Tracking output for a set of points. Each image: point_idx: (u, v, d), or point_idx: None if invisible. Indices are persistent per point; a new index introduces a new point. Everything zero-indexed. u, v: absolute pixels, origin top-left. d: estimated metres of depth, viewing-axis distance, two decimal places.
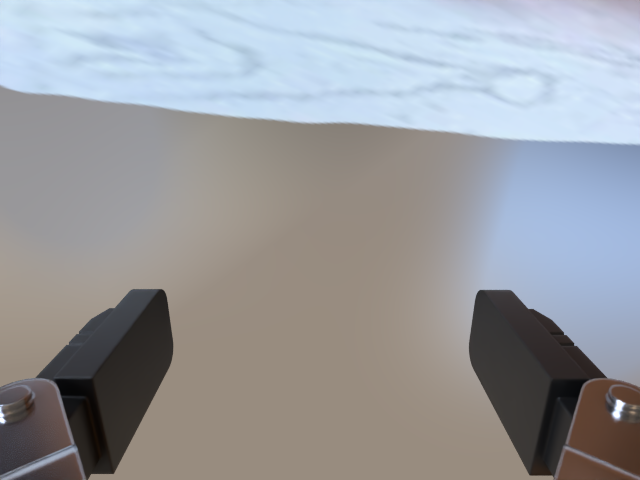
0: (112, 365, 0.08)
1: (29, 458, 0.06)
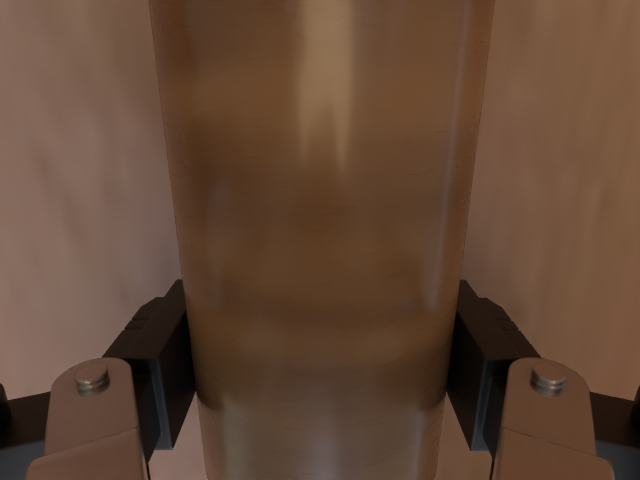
0: (171, 348, 0.09)
1: (98, 433, 0.06)
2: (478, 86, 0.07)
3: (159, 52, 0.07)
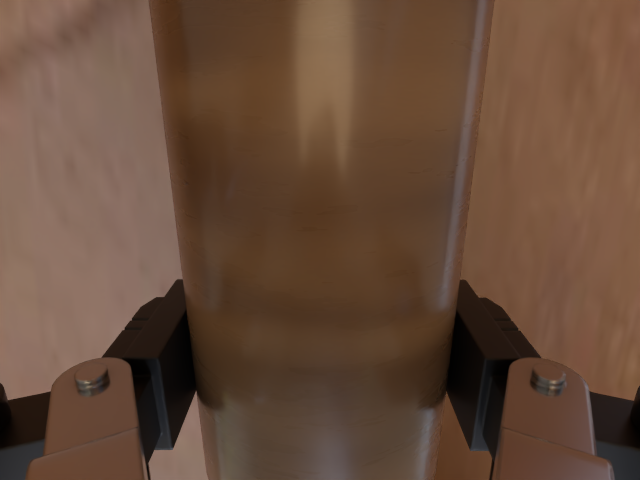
0: (171, 347, 0.09)
1: (99, 433, 0.06)
2: (478, 85, 0.07)
3: (159, 51, 0.07)
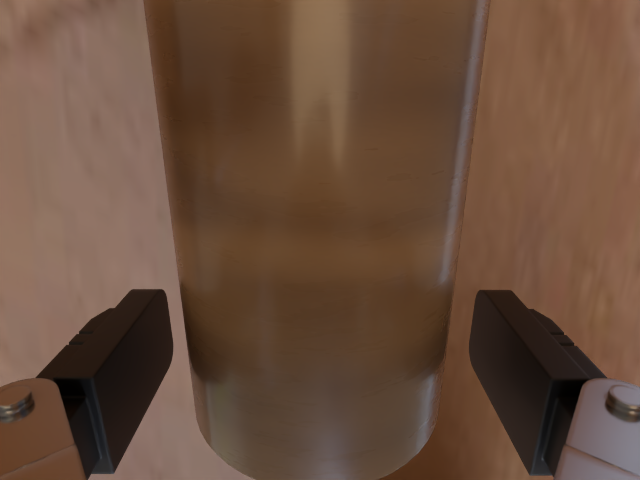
0: (112, 365, 0.08)
1: (29, 458, 0.06)
2: None
3: None
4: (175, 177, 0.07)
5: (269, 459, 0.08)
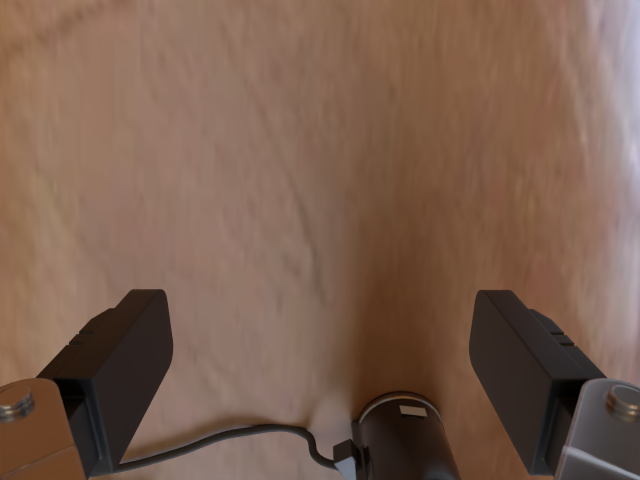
0: (112, 365, 0.08)
1: (29, 458, 0.06)
2: None
3: None
4: None
5: None
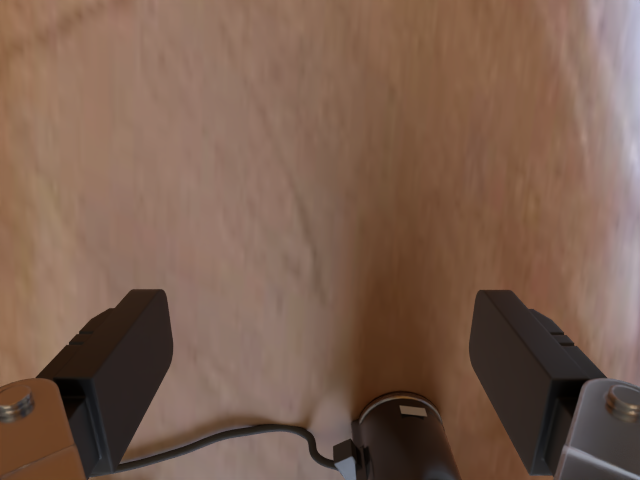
0: (112, 365, 0.08)
1: (29, 458, 0.06)
2: None
3: None
4: None
5: None
